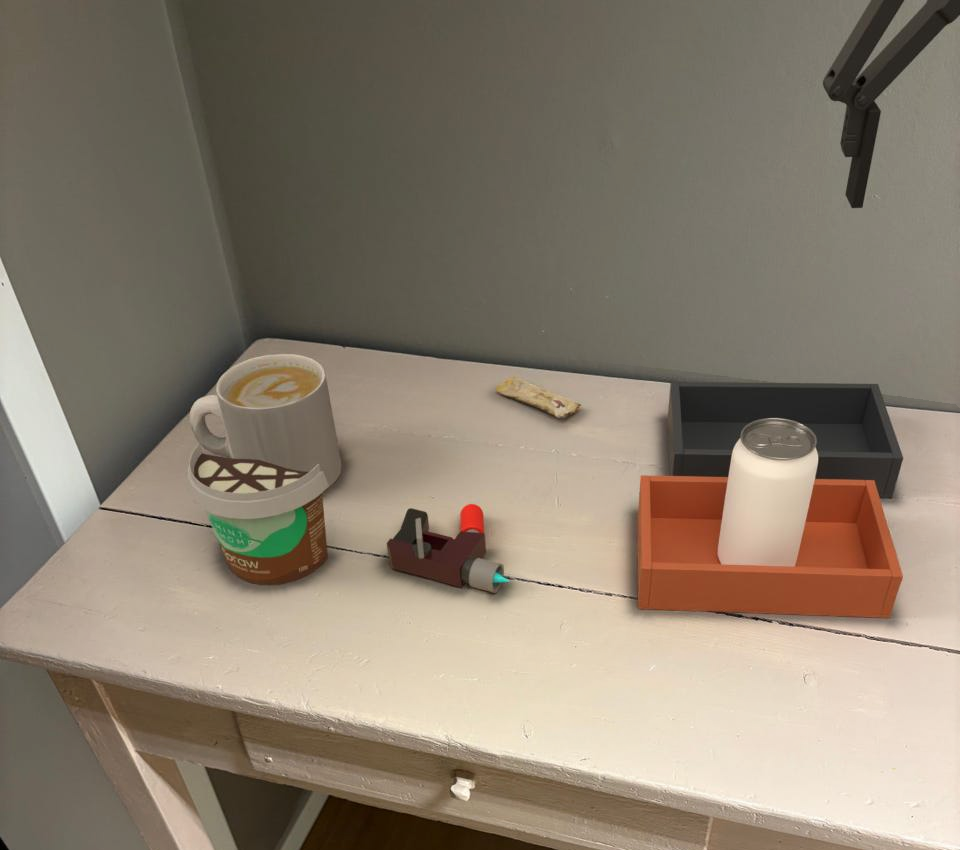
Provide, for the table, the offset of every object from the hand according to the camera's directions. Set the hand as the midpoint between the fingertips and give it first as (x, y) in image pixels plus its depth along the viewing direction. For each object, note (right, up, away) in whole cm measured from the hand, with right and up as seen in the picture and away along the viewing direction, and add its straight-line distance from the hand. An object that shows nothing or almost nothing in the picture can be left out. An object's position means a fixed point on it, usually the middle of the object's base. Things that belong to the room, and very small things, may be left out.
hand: (949, 198), depth 73 cm
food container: (-53, -27, +14) cm, 61 cm away
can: (-11, -26, +11) cm, 30 cm away
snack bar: (-28, -8, +31) cm, 43 cm away
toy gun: (-36, -25, +14) cm, 46 cm away
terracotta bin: (-11, -26, +11) cm, 30 cm away
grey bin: (-7, -15, +22) cm, 27 cm away
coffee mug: (-55, -16, +25) cm, 62 cm away
